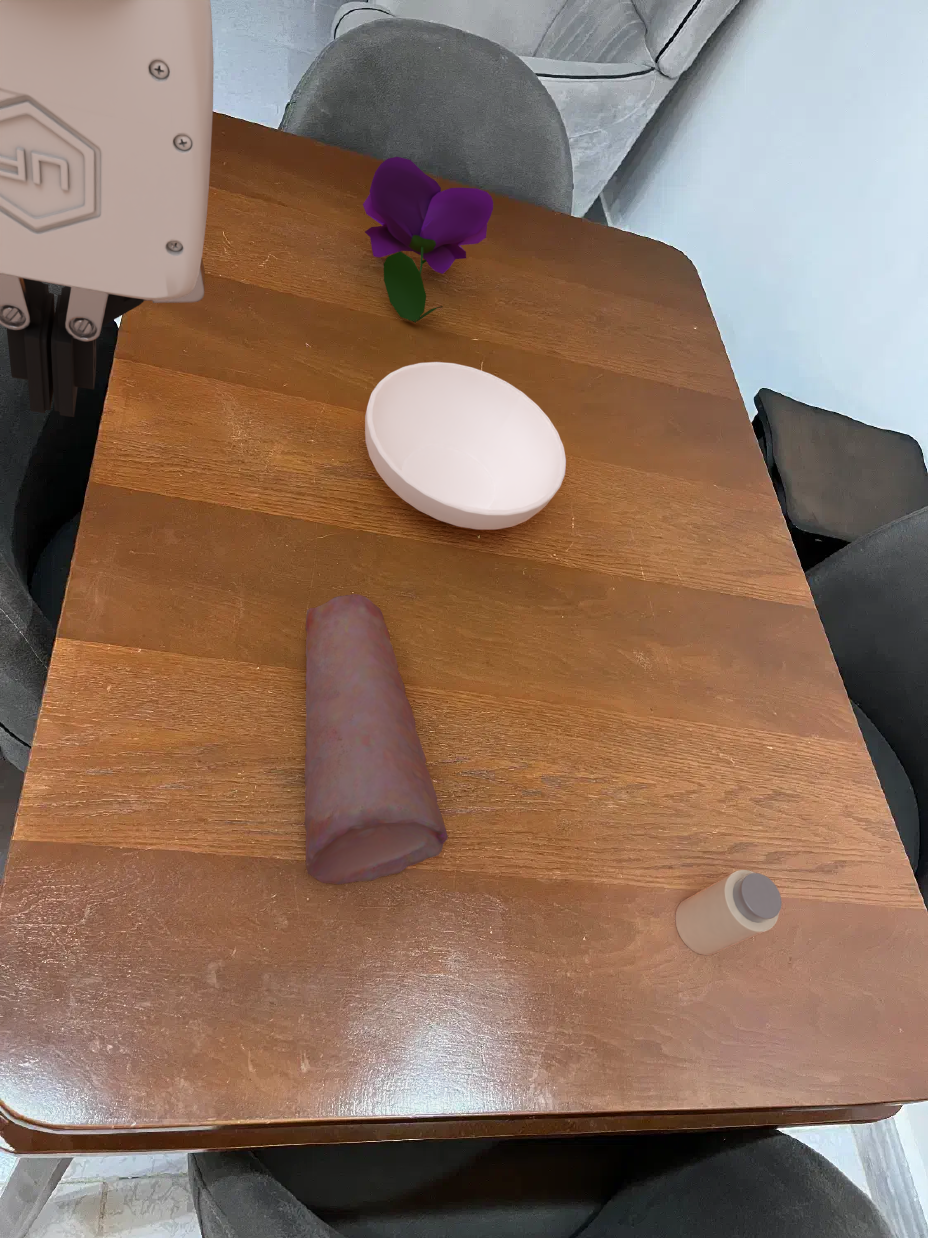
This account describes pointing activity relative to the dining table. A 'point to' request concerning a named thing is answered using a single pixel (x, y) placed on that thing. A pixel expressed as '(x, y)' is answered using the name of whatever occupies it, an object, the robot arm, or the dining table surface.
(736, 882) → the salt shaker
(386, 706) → the brown tapered cylinder
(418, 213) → the flower
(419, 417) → the bowl
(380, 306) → the dining table surface
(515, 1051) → the dining table surface
